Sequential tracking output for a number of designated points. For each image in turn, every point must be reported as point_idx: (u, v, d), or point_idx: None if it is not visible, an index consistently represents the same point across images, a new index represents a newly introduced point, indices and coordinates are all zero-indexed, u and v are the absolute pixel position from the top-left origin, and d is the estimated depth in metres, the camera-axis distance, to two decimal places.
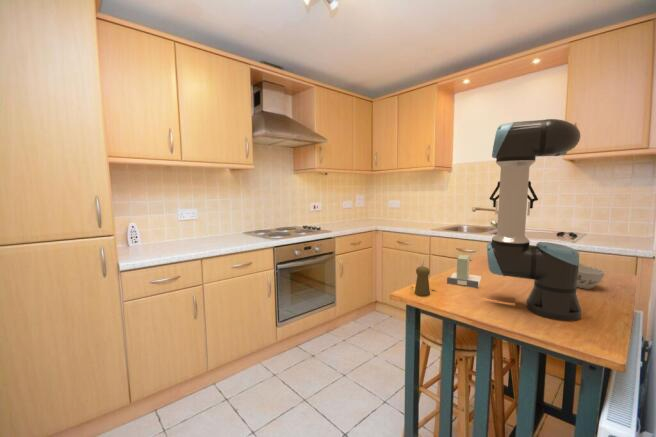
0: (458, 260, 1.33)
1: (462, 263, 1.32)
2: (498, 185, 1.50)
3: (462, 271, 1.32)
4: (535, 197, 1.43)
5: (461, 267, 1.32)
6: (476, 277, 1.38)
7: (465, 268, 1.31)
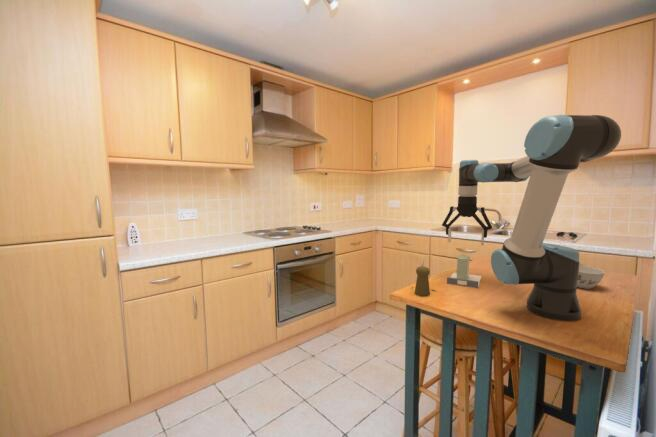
0: (458, 260, 1.33)
1: (462, 263, 1.32)
2: (450, 210, 1.36)
3: (462, 271, 1.32)
4: (489, 225, 1.29)
5: (461, 267, 1.32)
6: (476, 277, 1.38)
7: (465, 268, 1.31)
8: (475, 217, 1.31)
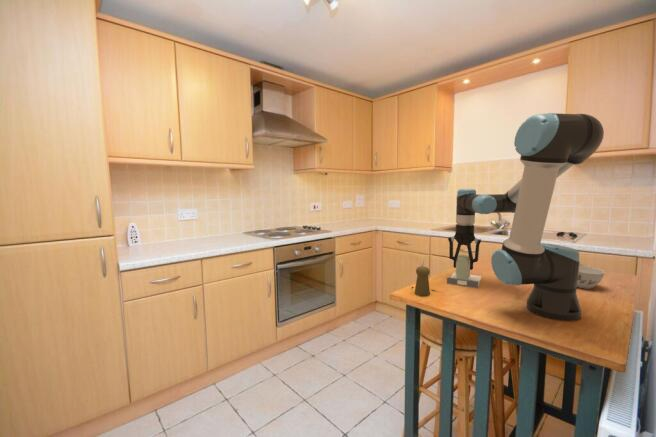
0: (458, 260, 1.33)
1: (462, 263, 1.32)
2: (450, 242, 1.36)
3: (462, 271, 1.32)
4: (476, 258, 1.31)
5: (461, 267, 1.32)
6: (476, 277, 1.38)
7: (465, 268, 1.32)
8: (468, 247, 1.32)
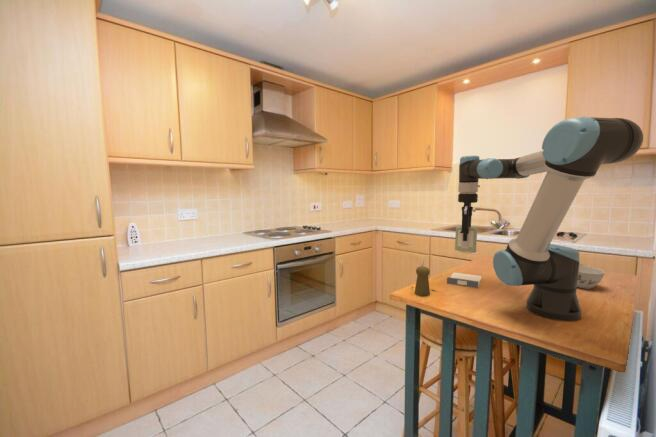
0: None
1: None
2: None
3: None
4: None
5: None
6: (476, 277, 1.38)
7: None
8: None
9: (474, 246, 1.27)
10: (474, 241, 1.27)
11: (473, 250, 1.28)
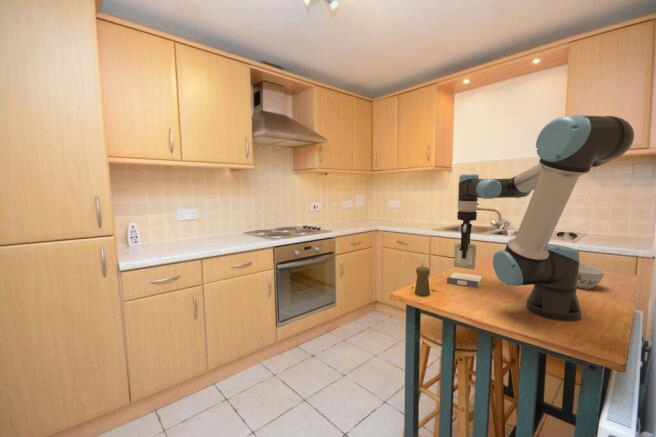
0: None
1: None
2: None
3: None
4: None
5: None
6: (476, 277, 1.38)
7: None
8: None
9: (473, 263, 1.28)
10: (473, 258, 1.28)
11: (472, 267, 1.29)
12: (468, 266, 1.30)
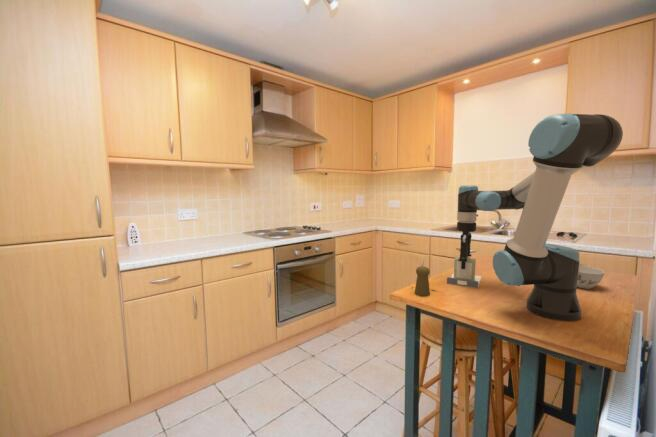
0: None
1: None
2: None
3: None
4: (460, 256, 1.26)
5: None
6: (476, 277, 1.38)
7: None
8: None
9: (472, 278, 1.29)
10: (472, 273, 1.29)
11: None
12: None
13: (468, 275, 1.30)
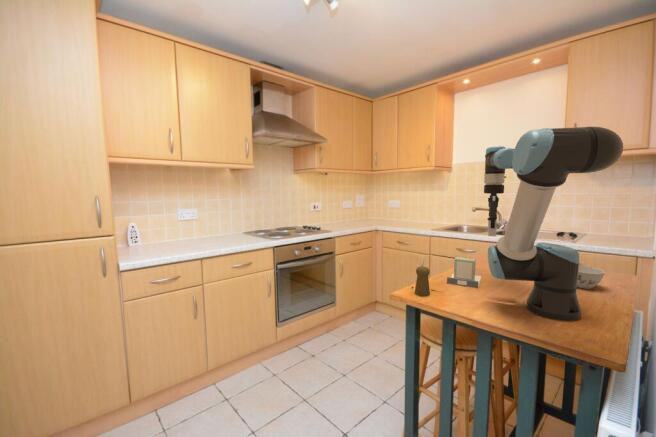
0: None
1: None
2: None
3: None
4: (489, 215, 1.22)
5: None
6: (476, 277, 1.38)
7: None
8: (489, 206, 1.26)
9: (472, 278, 1.29)
10: (472, 273, 1.29)
11: None
12: None
13: (468, 275, 1.30)
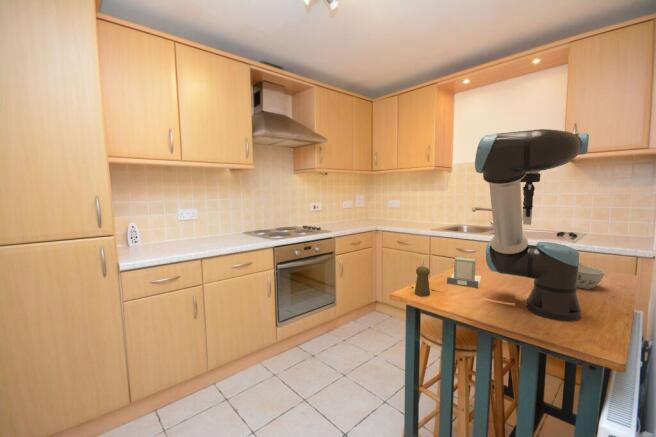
0: None
1: None
2: None
3: None
4: (525, 203, 1.23)
5: None
6: (476, 277, 1.38)
7: None
8: (524, 195, 1.27)
9: (472, 278, 1.29)
10: (472, 273, 1.29)
11: None
12: None
13: (468, 275, 1.30)
